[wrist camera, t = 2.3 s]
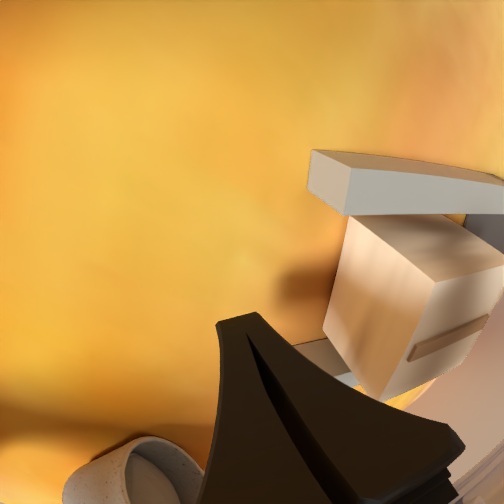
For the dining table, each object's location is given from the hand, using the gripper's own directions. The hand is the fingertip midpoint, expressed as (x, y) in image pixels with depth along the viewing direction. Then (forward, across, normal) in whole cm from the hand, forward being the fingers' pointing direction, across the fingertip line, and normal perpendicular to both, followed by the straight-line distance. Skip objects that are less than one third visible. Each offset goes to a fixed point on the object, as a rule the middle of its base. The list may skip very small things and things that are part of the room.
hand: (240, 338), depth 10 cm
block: (+2, -8, +1) cm, 8 cm away
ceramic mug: (+3, +8, +13) cm, 16 cm away
